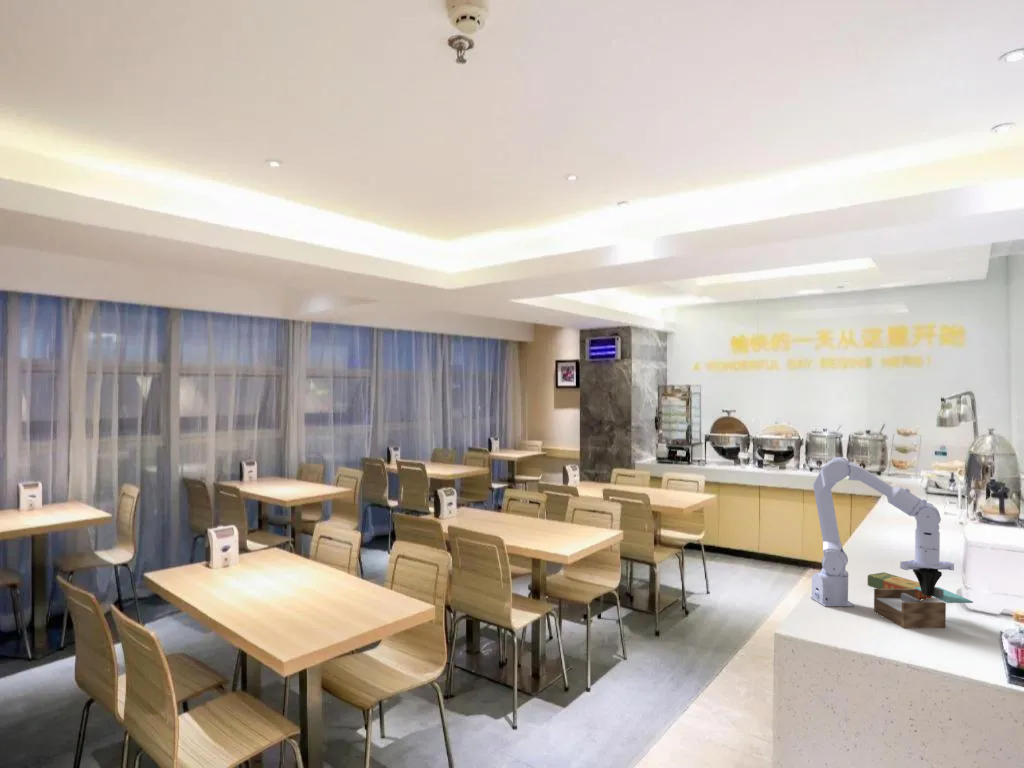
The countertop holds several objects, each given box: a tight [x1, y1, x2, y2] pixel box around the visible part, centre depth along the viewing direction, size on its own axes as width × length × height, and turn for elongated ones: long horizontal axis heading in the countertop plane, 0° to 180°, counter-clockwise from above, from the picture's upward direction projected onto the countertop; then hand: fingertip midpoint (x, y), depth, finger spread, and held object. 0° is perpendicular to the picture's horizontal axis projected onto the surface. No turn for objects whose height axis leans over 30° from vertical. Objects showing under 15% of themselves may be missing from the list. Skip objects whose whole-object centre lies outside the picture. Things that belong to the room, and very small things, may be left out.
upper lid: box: [915, 586, 974, 604], centre depth 167 cm, size 7×12×2 cm, turn 3°
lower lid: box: [877, 593, 922, 612], centre depth 167 cm, size 7×10×2 cm
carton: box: [867, 571, 933, 601], centre depth 191 cm, size 8×16×4 cm, turn 22°
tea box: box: [873, 588, 947, 629], centre depth 167 cm, size 12×12×7 cm
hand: (926, 594), depth 167 cm, fingers closed
